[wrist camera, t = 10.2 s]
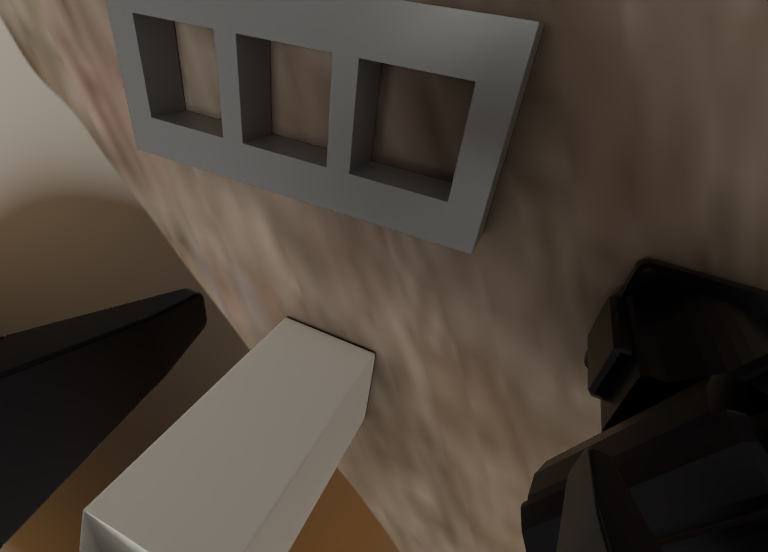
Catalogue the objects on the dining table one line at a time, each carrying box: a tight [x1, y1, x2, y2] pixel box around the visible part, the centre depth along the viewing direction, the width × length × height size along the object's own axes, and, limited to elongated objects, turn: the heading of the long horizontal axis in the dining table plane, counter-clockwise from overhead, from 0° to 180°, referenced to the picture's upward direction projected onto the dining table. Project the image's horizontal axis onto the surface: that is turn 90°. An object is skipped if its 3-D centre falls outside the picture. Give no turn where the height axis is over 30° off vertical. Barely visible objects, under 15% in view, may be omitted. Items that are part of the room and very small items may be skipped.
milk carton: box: [79, 318, 375, 552], centre depth 23 cm, size 7×7×19 cm
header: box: [106, 0, 545, 255], centre depth 19 cm, size 20×9×2 cm, turn 82°
